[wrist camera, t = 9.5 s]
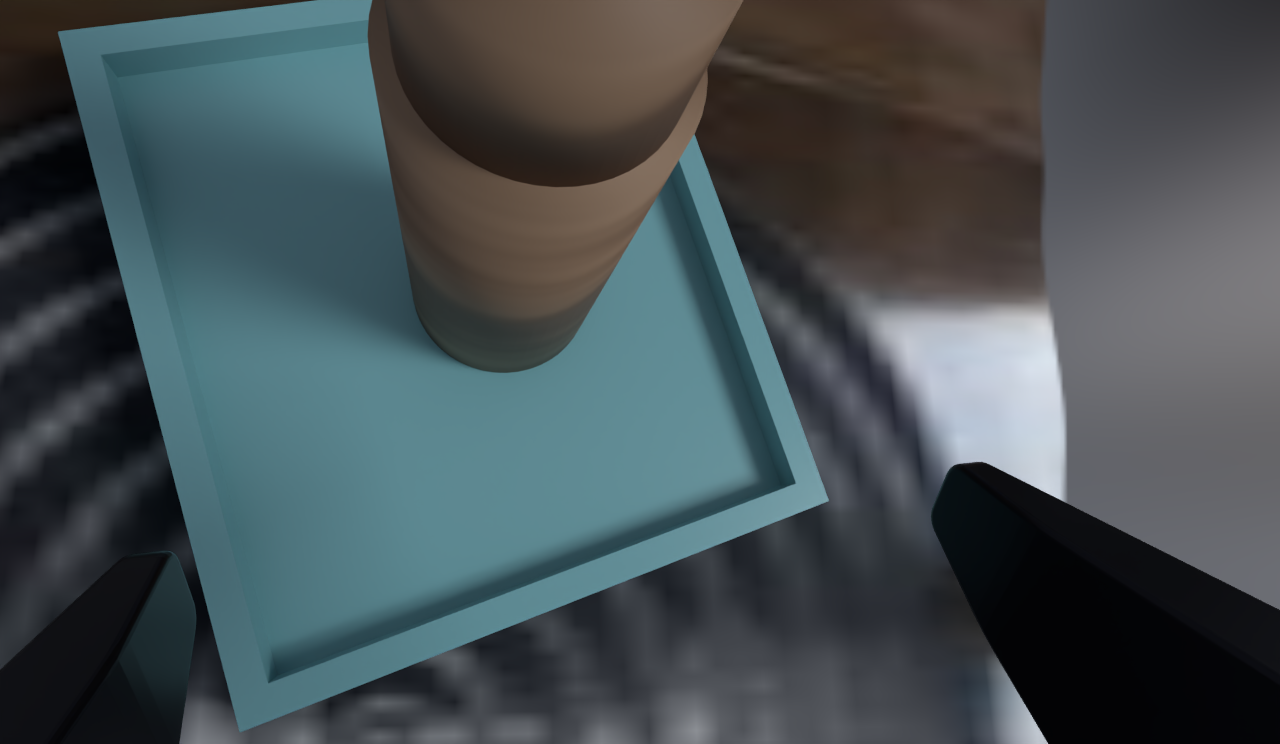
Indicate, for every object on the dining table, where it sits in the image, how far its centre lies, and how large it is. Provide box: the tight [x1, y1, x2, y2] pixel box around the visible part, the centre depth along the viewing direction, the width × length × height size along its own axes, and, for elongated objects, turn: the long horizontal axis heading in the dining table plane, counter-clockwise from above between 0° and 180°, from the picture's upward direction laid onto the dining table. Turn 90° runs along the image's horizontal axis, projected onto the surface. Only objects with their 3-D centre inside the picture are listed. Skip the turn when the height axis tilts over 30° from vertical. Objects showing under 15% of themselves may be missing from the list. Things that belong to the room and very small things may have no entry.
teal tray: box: [58, 0, 829, 732], centre depth 21 cm, size 18×16×2 cm
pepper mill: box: [367, 0, 743, 373], centre depth 14 cm, size 5×5×15 cm
